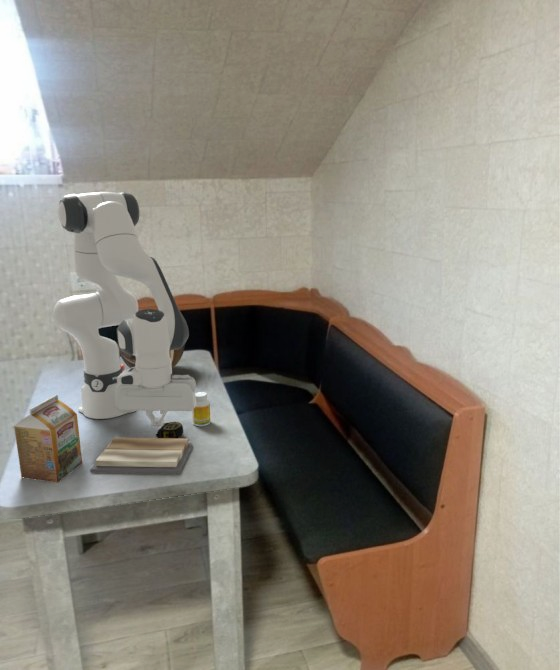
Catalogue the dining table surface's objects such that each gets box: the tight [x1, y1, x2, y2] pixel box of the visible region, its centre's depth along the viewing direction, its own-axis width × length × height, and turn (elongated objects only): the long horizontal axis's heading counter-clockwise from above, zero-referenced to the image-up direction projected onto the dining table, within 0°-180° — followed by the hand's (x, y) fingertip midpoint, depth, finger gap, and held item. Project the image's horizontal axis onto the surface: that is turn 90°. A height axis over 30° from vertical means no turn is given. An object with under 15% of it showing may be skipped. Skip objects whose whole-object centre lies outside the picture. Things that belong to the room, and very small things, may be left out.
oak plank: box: [105, 437, 190, 454], centre depth 158 cm, size 7×21×2 cm, turn 86°
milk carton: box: [13, 394, 83, 484], centre depth 147 cm, size 11×11×19 cm
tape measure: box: [155, 421, 184, 438], centre depth 167 cm, size 7×7×4 cm
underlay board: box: [90, 442, 193, 475], centre depth 154 cm, size 16×23×1 cm
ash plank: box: [95, 448, 183, 467], centre depth 151 cm, size 7×21×2 cm, turn 86°
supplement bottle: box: [191, 391, 211, 427], centre depth 176 cm, size 5×5×10 cm
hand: (157, 425), depth 148 cm, fingers closed
